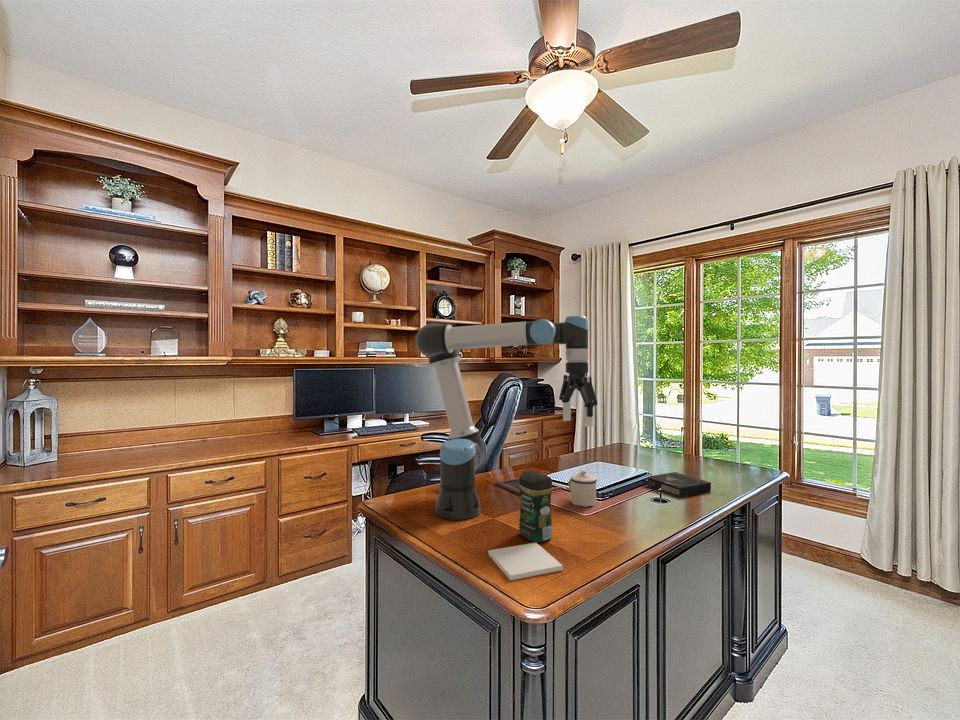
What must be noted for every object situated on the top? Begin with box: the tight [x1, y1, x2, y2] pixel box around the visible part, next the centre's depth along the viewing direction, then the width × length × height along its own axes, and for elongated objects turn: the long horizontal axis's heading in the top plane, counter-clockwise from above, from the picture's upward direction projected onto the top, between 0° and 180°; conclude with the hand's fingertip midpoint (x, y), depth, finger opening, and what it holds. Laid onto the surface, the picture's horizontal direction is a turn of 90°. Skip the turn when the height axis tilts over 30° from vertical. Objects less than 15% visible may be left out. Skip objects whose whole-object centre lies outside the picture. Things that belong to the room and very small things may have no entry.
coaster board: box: [487, 542, 564, 581], centre depth 112 cm, size 14×14×1 cm
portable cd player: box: [645, 471, 712, 499], centre depth 173 cm, size 16×17×4 cm
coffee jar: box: [518, 470, 553, 543], centre depth 128 cm, size 10×8×19 cm
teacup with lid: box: [568, 469, 598, 508], centre depth 158 cm, size 12×9×12 cm
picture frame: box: [495, 472, 562, 496], centre depth 177 cm, size 20×2×25 cm
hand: (577, 423), depth 152 cm, fingers open, 13 cm apart
